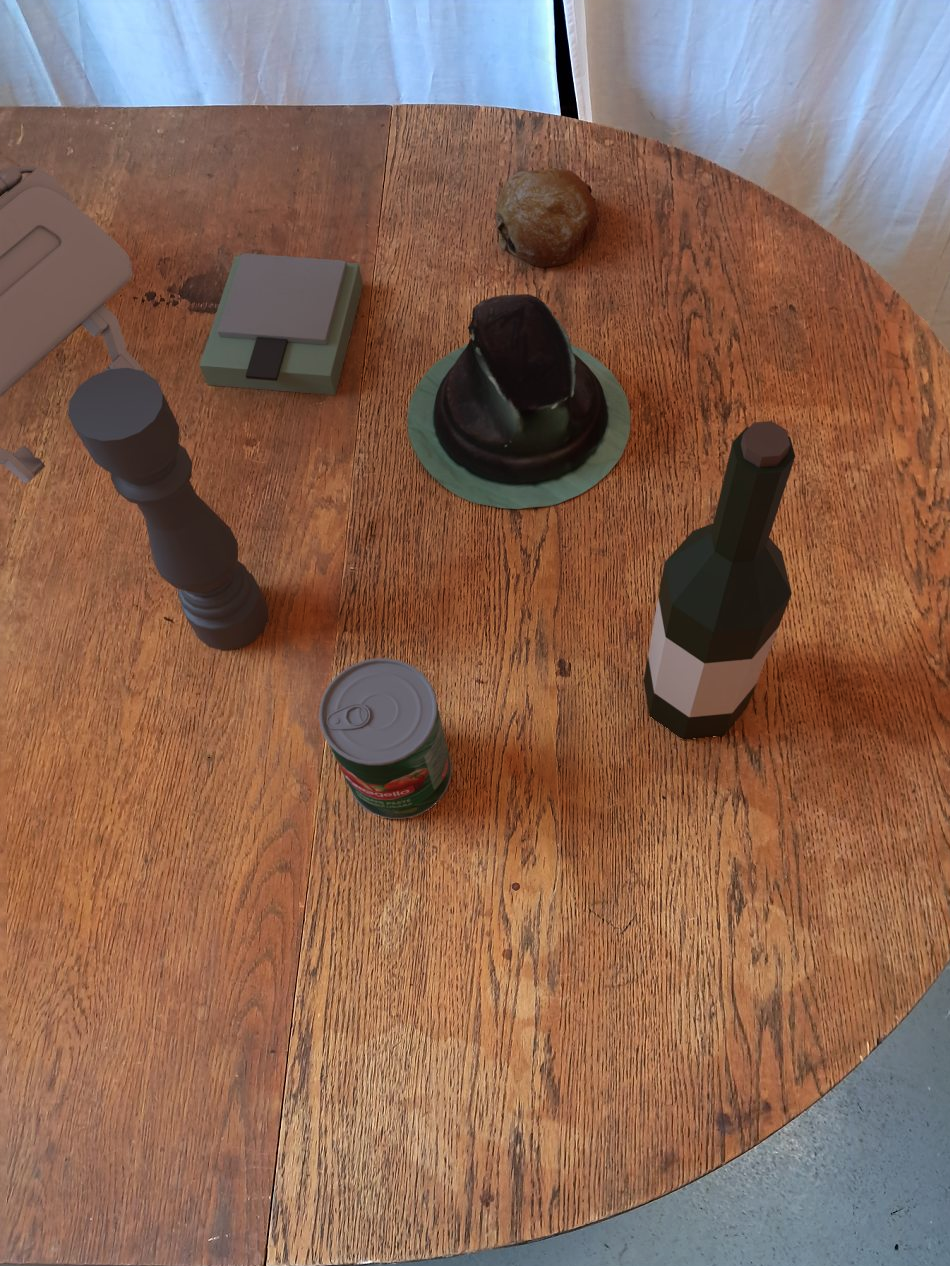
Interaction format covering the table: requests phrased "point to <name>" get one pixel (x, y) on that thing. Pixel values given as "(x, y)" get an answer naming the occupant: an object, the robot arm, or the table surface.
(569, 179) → the bread roll
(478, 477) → the black hat
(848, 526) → the table surface
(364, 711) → the canned tomato
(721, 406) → the table surface
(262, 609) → the candle holder
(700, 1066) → the table surface
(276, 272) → the scale
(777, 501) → the wine bottle
